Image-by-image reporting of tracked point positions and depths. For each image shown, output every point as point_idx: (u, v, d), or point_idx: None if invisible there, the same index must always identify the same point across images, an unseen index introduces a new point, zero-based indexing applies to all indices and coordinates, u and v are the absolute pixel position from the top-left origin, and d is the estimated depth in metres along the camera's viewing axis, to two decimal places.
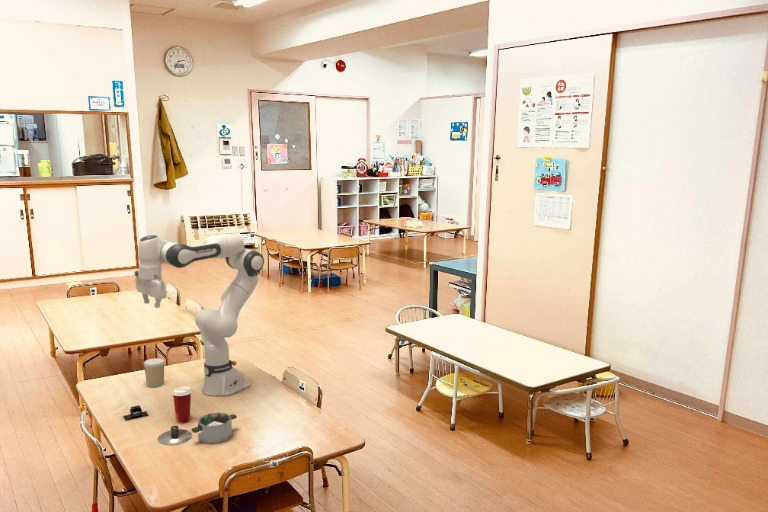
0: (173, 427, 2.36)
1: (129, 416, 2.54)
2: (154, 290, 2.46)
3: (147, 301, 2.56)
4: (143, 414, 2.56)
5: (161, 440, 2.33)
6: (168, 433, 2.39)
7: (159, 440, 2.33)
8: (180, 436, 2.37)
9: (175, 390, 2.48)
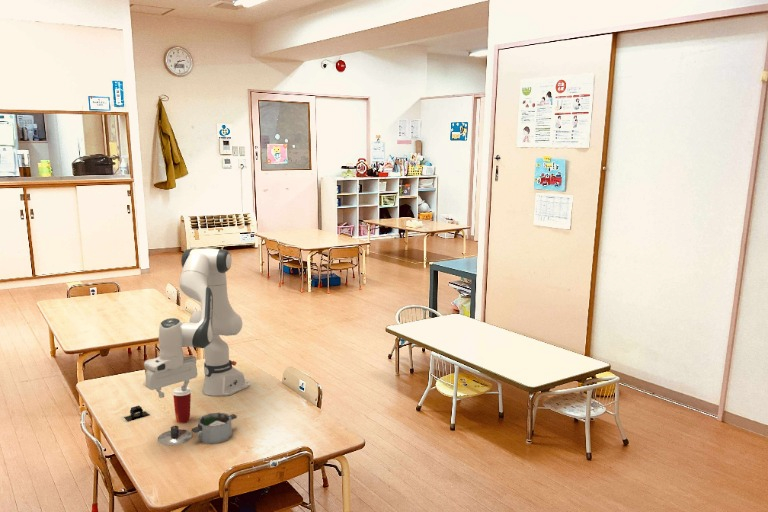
0: (173, 427, 2.36)
1: (130, 417, 2.53)
2: (189, 371, 2.35)
3: None
4: (143, 414, 2.56)
5: (161, 440, 2.33)
6: (168, 433, 2.39)
7: (159, 440, 2.33)
8: (180, 436, 2.37)
9: (175, 390, 2.48)
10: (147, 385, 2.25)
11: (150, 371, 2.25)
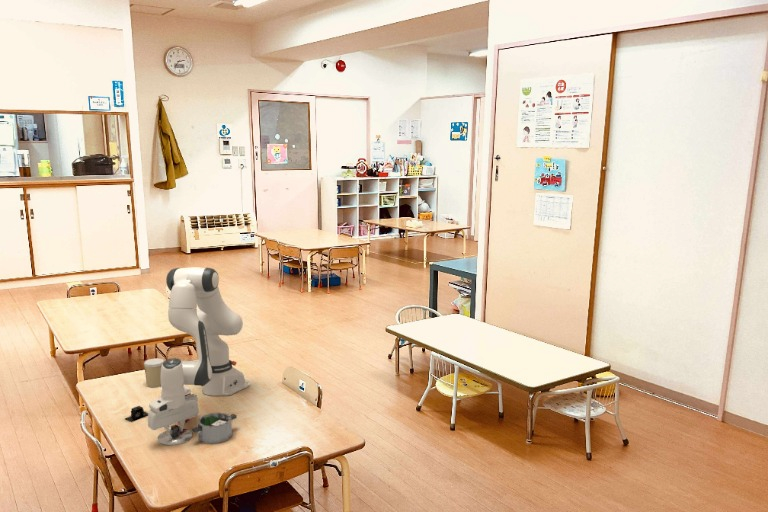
0: (173, 426, 2.36)
1: (131, 418, 2.52)
2: (191, 410, 2.38)
3: None
4: (144, 414, 2.56)
5: (161, 439, 2.33)
6: None
7: (159, 439, 2.33)
8: (180, 435, 2.37)
9: None
10: (149, 425, 2.28)
11: (152, 412, 2.28)
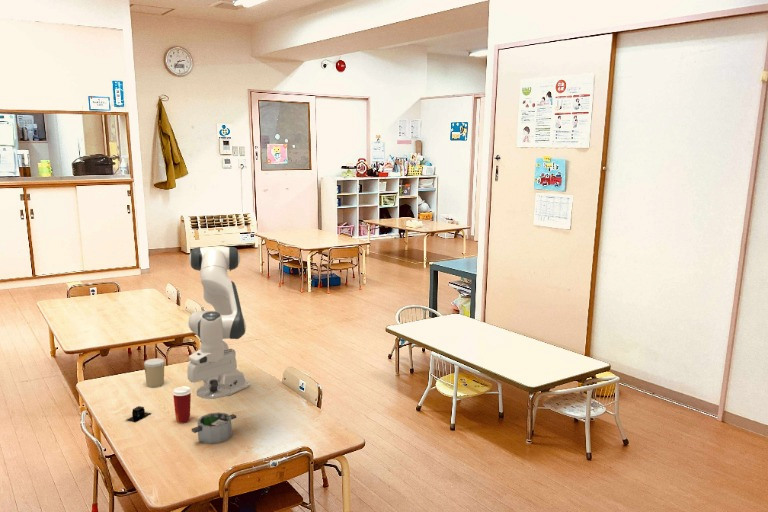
0: (212, 380, 2.34)
1: (133, 418, 2.52)
2: (229, 364, 2.37)
3: None
4: (144, 414, 2.56)
5: (200, 393, 2.32)
6: None
7: (198, 393, 2.32)
8: (219, 390, 2.35)
9: (175, 390, 2.48)
10: (189, 378, 2.27)
11: (192, 364, 2.27)
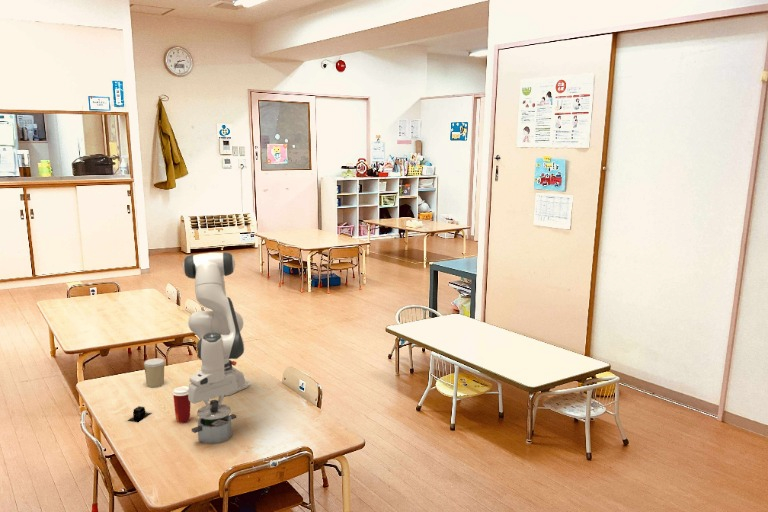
0: (212, 401, 2.36)
1: (135, 419, 2.51)
2: (230, 385, 2.38)
3: None
4: (145, 413, 2.56)
5: (200, 414, 2.33)
6: None
7: (199, 414, 2.33)
8: (219, 410, 2.37)
9: (175, 390, 2.48)
10: (190, 399, 2.28)
11: (193, 385, 2.28)
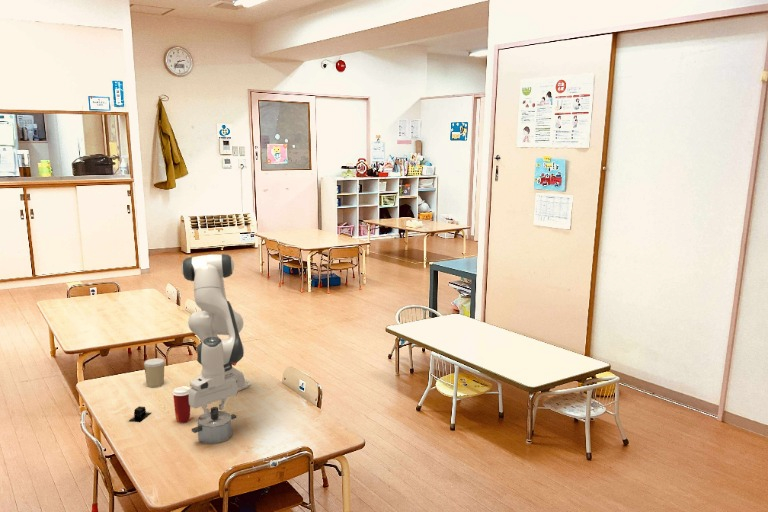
0: (213, 408, 2.36)
1: (136, 419, 2.51)
2: (230, 389, 2.39)
3: None
4: None
5: (201, 421, 2.34)
6: (207, 414, 2.40)
7: (199, 421, 2.34)
8: (220, 417, 2.38)
9: (175, 390, 2.48)
10: (190, 403, 2.29)
11: (193, 390, 2.29)
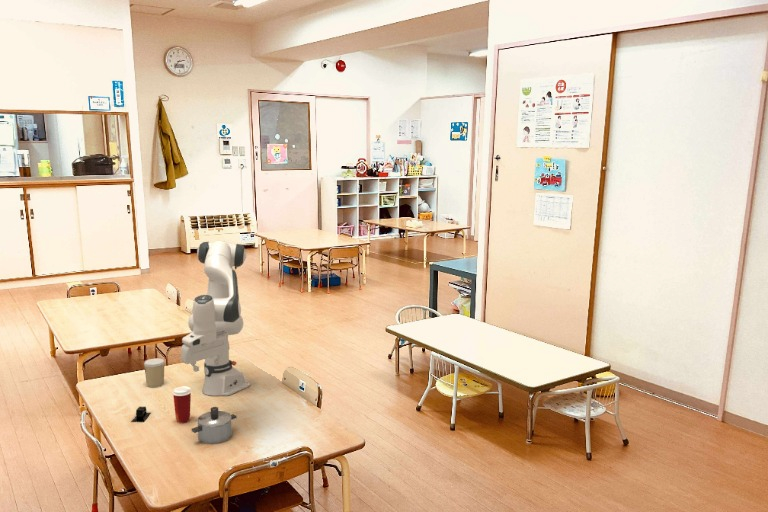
0: (213, 408, 2.36)
1: (138, 419, 2.51)
2: (222, 346, 2.43)
3: None
4: None
5: (201, 421, 2.34)
6: (207, 414, 2.40)
7: (199, 421, 2.34)
8: (220, 417, 2.38)
9: (175, 390, 2.48)
10: (183, 359, 2.33)
11: (185, 346, 2.32)
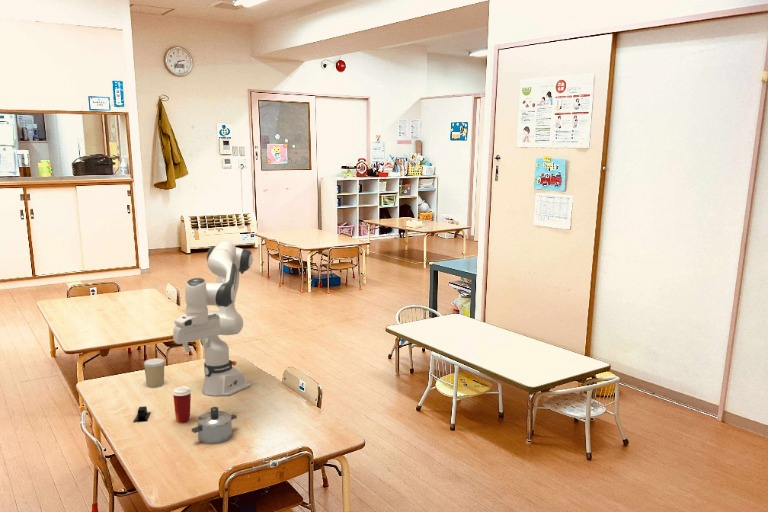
0: (213, 408, 2.36)
1: (140, 419, 2.51)
2: (213, 329, 2.50)
3: None
4: None
5: (201, 421, 2.34)
6: (207, 414, 2.40)
7: (199, 421, 2.34)
8: (220, 417, 2.38)
9: (175, 390, 2.48)
10: (175, 340, 2.40)
11: (177, 326, 2.40)
